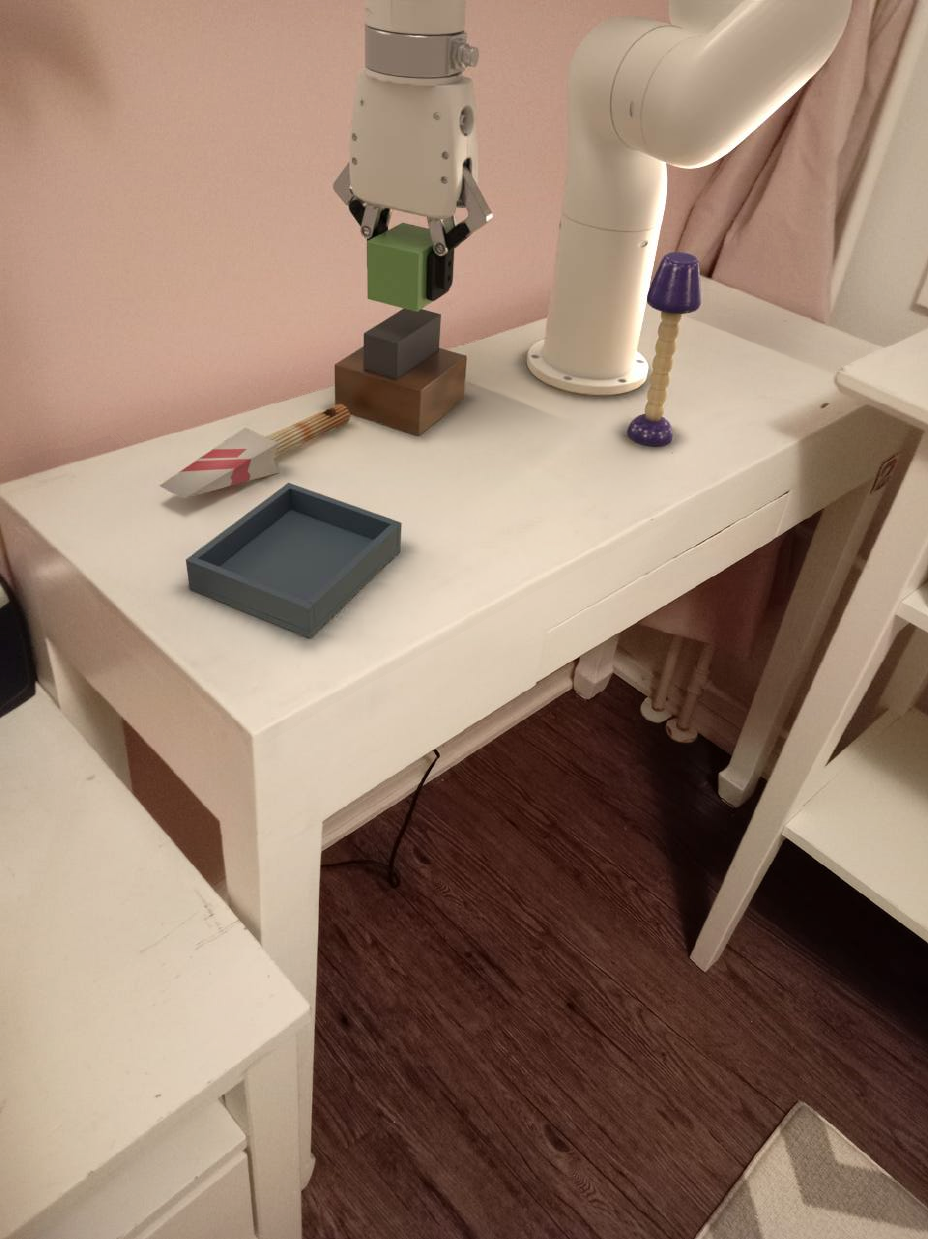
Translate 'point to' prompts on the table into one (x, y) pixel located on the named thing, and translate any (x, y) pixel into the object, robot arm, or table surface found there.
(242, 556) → the tray
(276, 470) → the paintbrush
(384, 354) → the charcoal block
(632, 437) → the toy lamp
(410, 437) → the table surface
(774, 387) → the table surface
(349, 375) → the walnut block
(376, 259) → the green block
